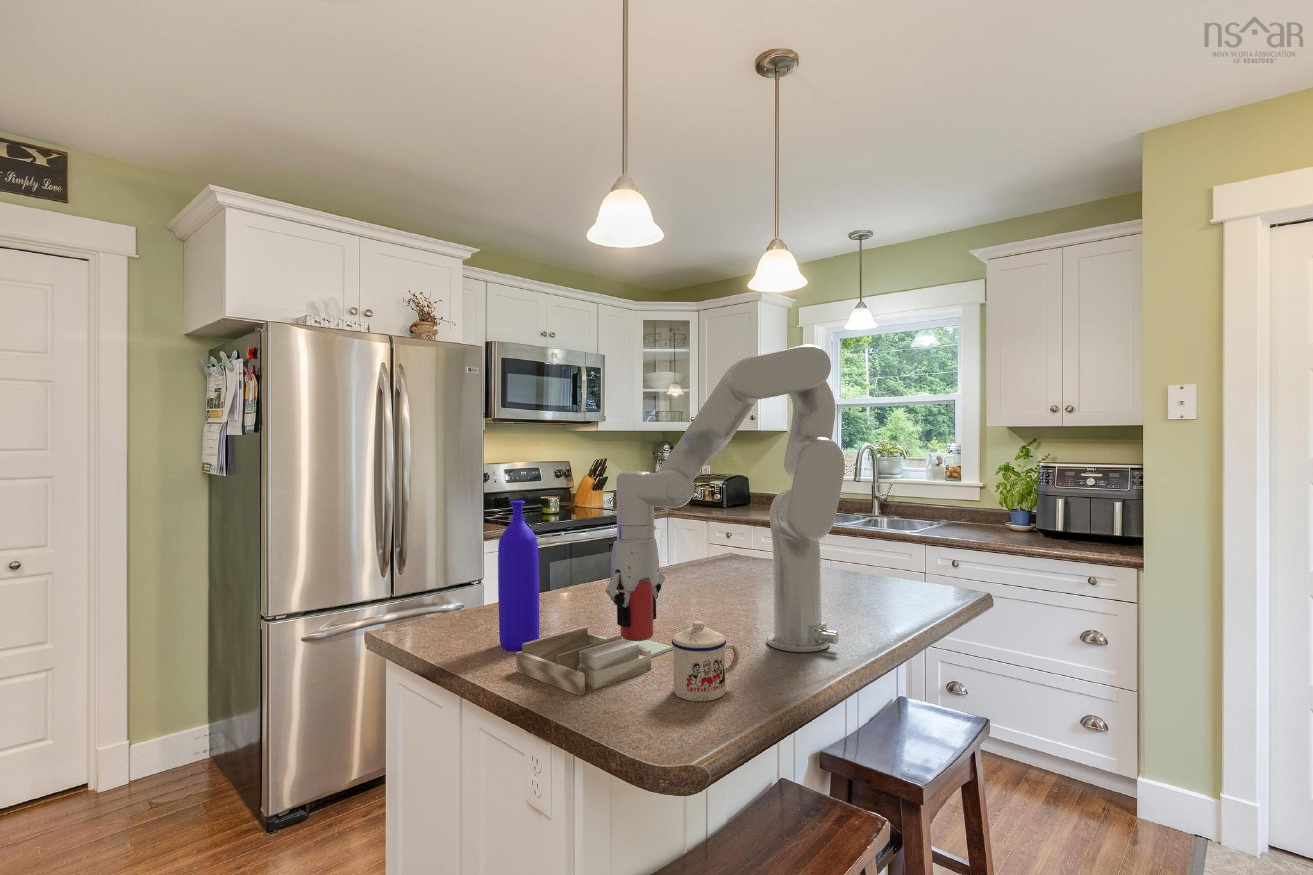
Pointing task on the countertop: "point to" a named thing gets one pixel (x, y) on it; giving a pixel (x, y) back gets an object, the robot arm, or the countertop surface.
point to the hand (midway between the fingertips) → (637, 621)
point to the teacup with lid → (701, 663)
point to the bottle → (518, 583)
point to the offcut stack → (611, 663)
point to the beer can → (640, 613)
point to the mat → (654, 647)
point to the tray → (562, 658)
